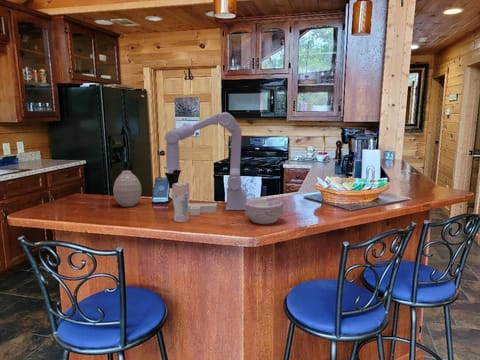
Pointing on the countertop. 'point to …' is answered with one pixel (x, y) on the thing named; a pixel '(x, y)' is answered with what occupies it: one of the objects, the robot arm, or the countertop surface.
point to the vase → (127, 189)
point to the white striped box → (204, 207)
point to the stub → (195, 211)
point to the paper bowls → (264, 210)
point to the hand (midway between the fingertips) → (173, 186)
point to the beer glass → (180, 201)
